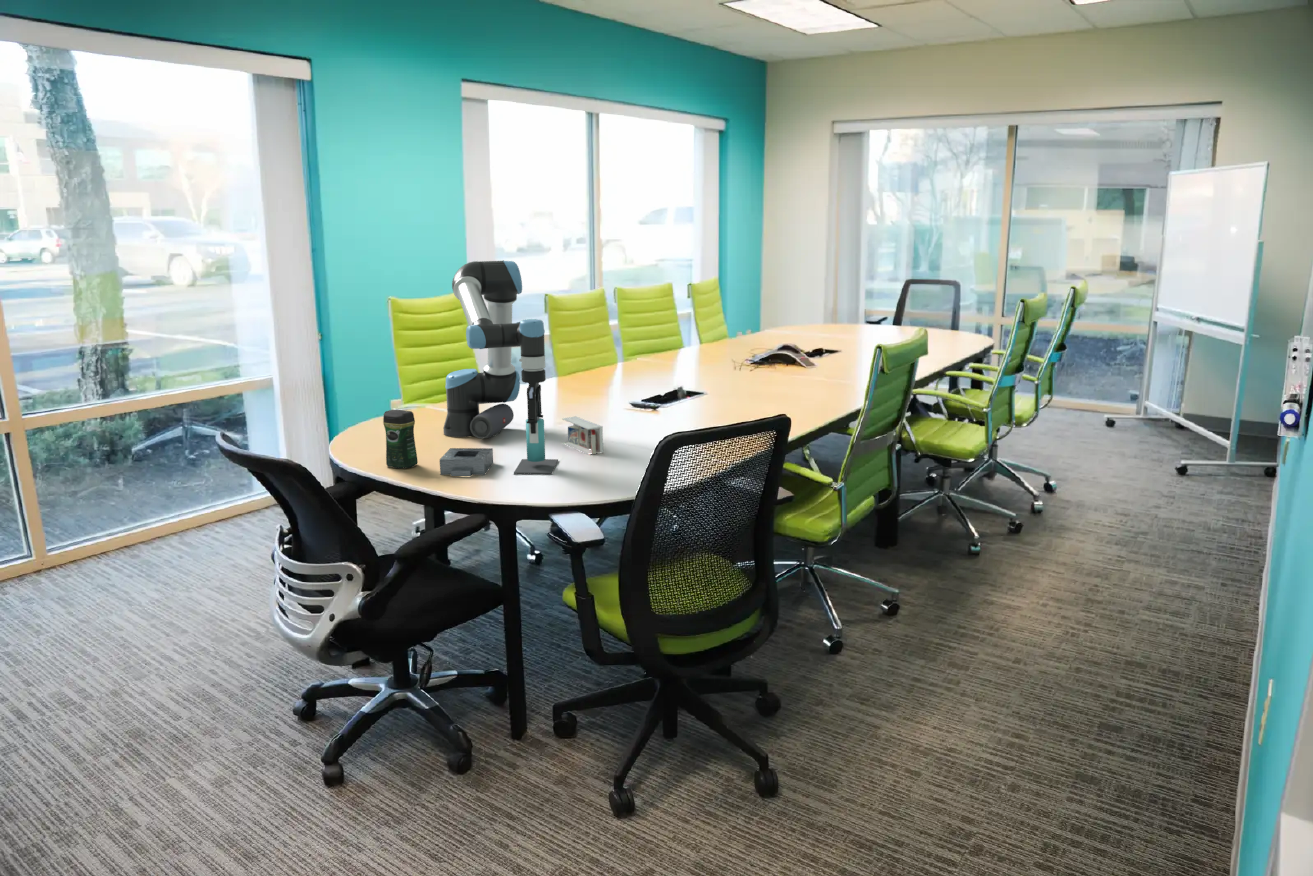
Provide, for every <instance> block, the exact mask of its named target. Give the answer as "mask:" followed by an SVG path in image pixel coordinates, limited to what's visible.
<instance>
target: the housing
mask: <svg viewBox="0 0 1313 876" xmlns="http://www.w3.org/2000/svg"><path fill="white" fill-rule="evenodd" d="M493 464H494V449H493V448H491V447H490V448H489V447H488V448H484V447H483V448H481V447H480V448H479V447H478V448H477V447H476V448H475V447H474V448H472V447H471V448H470V447H469V448H468V447H465V448H463V447H459V448H456V447H454V448H453V447H452V448H449V449H448V450H447V451H446V452H445V453H444V454H443V455H442V456H441V457H440V458H439V472H440V476H450V477H451V476H471V477H472V476H485V475H486V474H487V473H488V471H489V470H490V469H491V467H492V465H493ZM488 469H489V470H488ZM486 472H487V473H486ZM485 473H486V474H485Z"/></svg>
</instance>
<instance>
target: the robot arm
mask: <svg viewBox="0 0 1313 876" xmlns="http://www.w3.org/2000/svg"><path fill="white" fill-rule="evenodd" d="M451 288H452V292H453V294H454V296H455V298H456V299H457V300H458V301H459V303H460V305H461V307H462V310H463V313H464V316H465V319H466V321H467V324H468V325H467V327H466V329H465V331H466V332H465V337H466V338H465V339H466V345H467V346H468V348H469V349H471V350H473V349H474V350H475V349H479V350H484V349H487V363H486V364H485V365H484V366H483V372H478V370H477V369H476V368H464V369H460V370H455V371H451V372H450V373H448V374H447V375H446V377H445V393H446V396H445V397H446V416H445V421H444V423H443V435H445V436H446V437H451V438H453V437H454V438H468V437H475V436H474V435H473V434H472V432H471V430H470V423H471V421H472V419H473V418H474V417H476V416H477V415H478V414H480V413H481V412H480V405H483V404H496V403H497V404H506V403H510V402H514V401H516V400H517V398H518V396H519V394H520V389H521V387H520V386H521V382H520V380H521V381H522V383H524V384H525V383H526V384H528V387H526V399H527V401H526V405H527V419H528V421H526V420H525V423H526V422H527V423H529V437H530V443H539V441H538V423H537V417H539V418H541V419H544V415H543V414H542V413H543V411H542V394H541V393H542V385H541V384H540V383H544V382H545V381H546V380H547V379H546V370H545V368H546V352H545V351H546V349H545V332H546V331H545V324H544V322H543V320H541V319H537V318H534V319H533V318H531V319H523V320H521V321H517V322H513V304H514V303H515V302H516V301H517V299H518V298H517V297H518V295H521V294H522V292H523V281H522V275H521V272H520V268H519V266H518V264H517V263H516V262H515V261H513V260H488V261H487V260H486V261H485V260H484V261H483V260H482V261H478V260H477V261H475V260H474V261H471V262H470V261H469V262H467V263H465V264H463V265H462V266H461V267H460V268H458V270H457V271H456V272H455V274H454V276H453V278H452V280H451ZM485 301H486V302H487V305H486V303H485ZM518 347H520V358H519V362H521V364H520V366H521V367H520V368H521V372H520V373H521V375H520V373H519V371H518V370H516V367H515V366H514V365H513V364H512V348H518ZM520 376H521V377H520Z"/></svg>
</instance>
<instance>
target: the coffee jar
mask: <svg viewBox="0 0 1313 876" xmlns="http://www.w3.org/2000/svg"><path fill="white" fill-rule="evenodd" d="M382 420H383V421H382V423H383V427H384V430H385V445H386V446H385V448H386V450H385V451H386V452H385V457H386V459H385V461H386V463H385V464H386V466H387V467H388V468H392V467H394V469H408V468H411V467H412V468H414V467H415V466H416V465H418V462H419V461H418V452H417V447H416V441H415V434H414V433H415V432H414V427H415V424H416V423H415V422H416V421H415V414H414V412H413V411H412V410H403V409H402V410H401V409H390V410H386V411H384V413H383V418H382ZM412 468H411V469H412Z"/></svg>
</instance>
